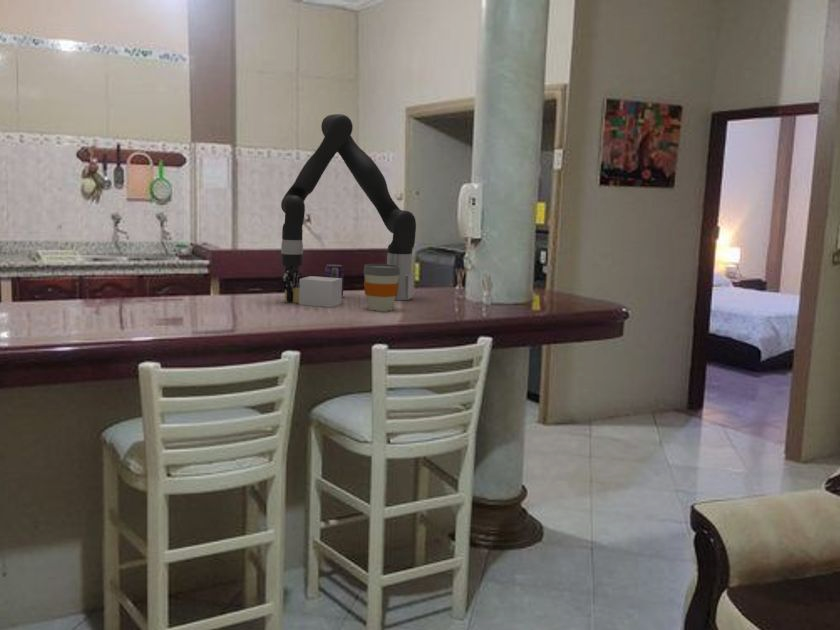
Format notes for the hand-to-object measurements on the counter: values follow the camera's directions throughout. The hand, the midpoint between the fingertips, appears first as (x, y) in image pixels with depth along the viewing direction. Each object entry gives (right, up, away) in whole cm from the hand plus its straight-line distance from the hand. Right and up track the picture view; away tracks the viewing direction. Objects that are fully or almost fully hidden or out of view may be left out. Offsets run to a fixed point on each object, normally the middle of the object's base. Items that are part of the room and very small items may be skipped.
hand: (291, 301), depth 280 cm
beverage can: (+13, +2, +16) cm, 21 cm away
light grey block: (+11, -1, -2) cm, 11 cm away
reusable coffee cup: (+32, -3, -7) cm, 33 cm away
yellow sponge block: (+3, 0, -1) cm, 3 cm away
